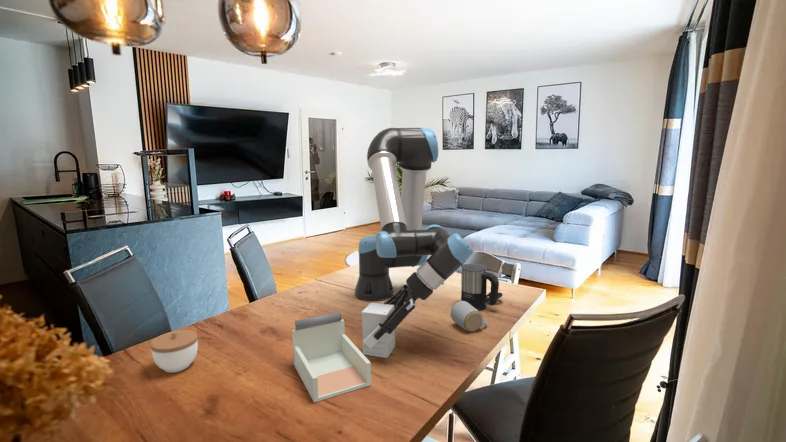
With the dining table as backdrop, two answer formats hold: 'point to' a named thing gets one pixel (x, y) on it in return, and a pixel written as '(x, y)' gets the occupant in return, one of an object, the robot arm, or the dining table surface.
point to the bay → (328, 357)
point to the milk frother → (478, 286)
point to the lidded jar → (175, 350)
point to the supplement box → (370, 322)
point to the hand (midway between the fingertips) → (367, 336)
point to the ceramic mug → (467, 316)
